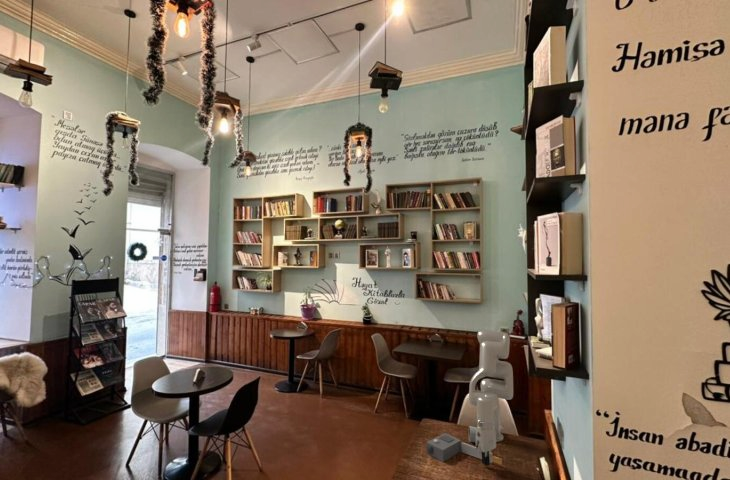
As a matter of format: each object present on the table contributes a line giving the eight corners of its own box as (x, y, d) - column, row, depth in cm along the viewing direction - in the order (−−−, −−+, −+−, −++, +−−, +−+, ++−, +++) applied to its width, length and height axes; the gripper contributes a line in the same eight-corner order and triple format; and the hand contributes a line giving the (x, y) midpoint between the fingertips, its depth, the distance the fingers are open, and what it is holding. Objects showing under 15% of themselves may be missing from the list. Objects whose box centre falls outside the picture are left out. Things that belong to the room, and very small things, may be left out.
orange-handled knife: (460, 451, 171) (460, 442, 171) (461, 450, 172) (461, 441, 172) (501, 467, 158) (501, 457, 158) (501, 466, 159) (501, 456, 159)
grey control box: (445, 443, 179) (445, 431, 180) (461, 451, 172) (461, 438, 172) (425, 453, 168) (425, 440, 169) (442, 462, 161) (442, 448, 162)
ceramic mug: (485, 446, 178) (485, 430, 179) (470, 444, 179) (469, 429, 180) (481, 437, 188) (481, 422, 189) (467, 435, 190) (466, 421, 191)
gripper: (481, 430, 153) (481, 472, 151) (501, 423, 161) (502, 463, 159) (468, 424, 160) (468, 464, 158) (488, 417, 167) (489, 456, 165)
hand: (485, 463), depth 158 cm, fingers closed
